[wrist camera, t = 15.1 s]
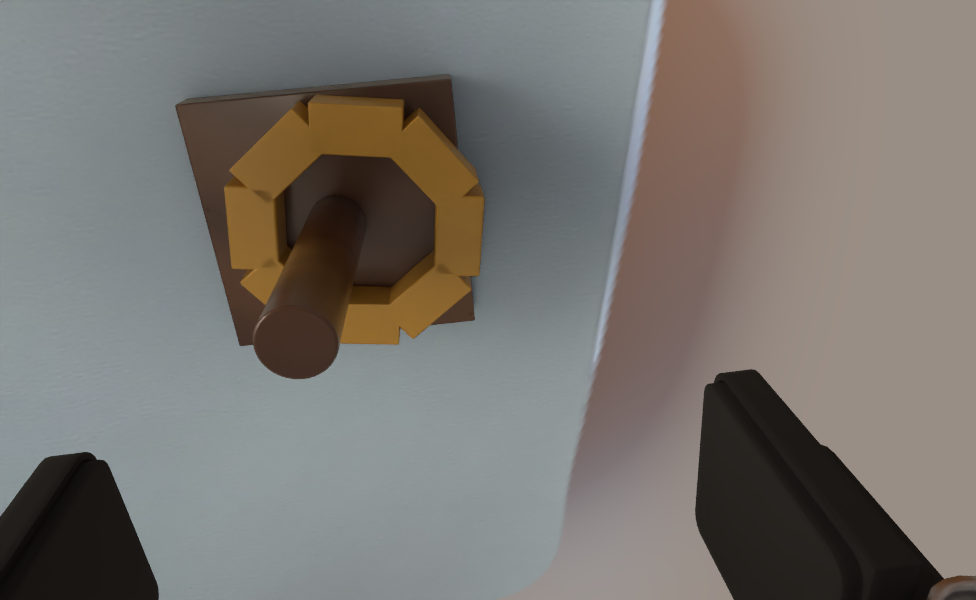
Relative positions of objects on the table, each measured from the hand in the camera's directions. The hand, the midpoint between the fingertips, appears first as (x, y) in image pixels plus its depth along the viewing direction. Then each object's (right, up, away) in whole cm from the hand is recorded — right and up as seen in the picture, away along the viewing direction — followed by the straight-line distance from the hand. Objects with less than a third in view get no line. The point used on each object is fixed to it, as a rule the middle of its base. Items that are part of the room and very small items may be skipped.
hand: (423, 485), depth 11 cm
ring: (-4, +6, +13) cm, 15 cm away
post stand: (-4, +6, +15) cm, 16 cm away
